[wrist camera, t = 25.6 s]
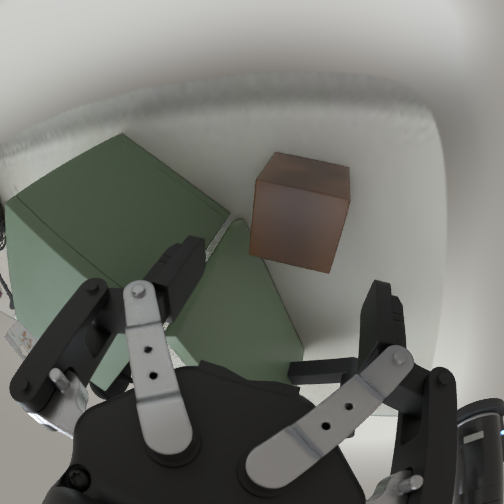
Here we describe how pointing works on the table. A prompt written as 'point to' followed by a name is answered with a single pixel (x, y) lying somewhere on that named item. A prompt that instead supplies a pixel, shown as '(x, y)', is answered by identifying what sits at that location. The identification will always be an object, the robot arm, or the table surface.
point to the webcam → (115, 384)
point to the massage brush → (3, 229)
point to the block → (299, 211)
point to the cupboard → (98, 232)
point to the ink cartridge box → (20, 338)
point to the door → (246, 322)
